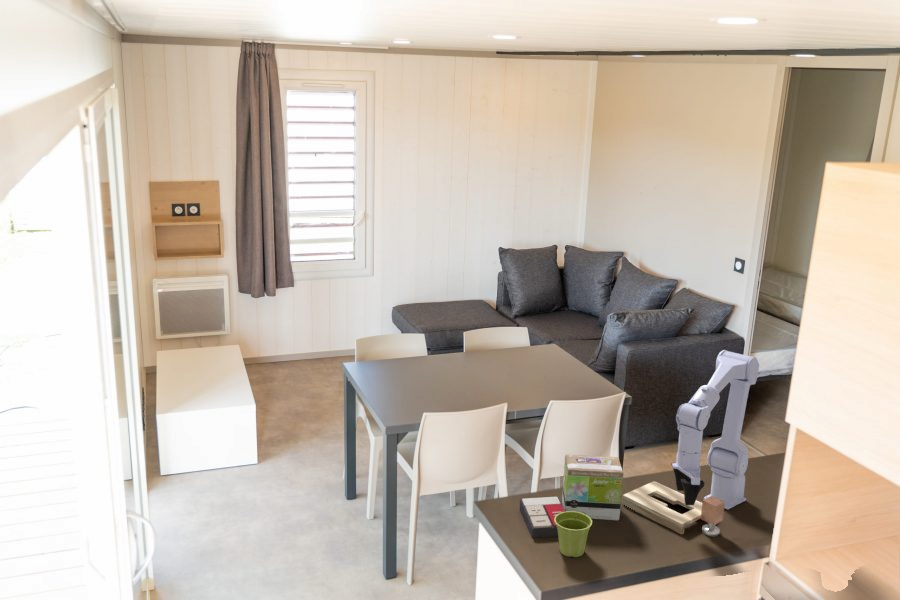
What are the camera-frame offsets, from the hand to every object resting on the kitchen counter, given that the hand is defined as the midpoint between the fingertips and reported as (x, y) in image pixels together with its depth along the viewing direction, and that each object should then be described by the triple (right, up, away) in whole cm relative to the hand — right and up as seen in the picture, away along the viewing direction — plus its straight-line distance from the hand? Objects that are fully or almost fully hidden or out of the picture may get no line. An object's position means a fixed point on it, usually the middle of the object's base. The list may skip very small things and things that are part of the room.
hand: (685, 497), depth 208 cm
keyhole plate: (-1, -7, +13) cm, 15 cm away
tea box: (-23, -7, +13) cm, 27 cm away
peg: (+7, -10, +2) cm, 13 cm away
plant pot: (-31, -12, -7) cm, 34 cm away
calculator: (-36, -9, +7) cm, 37 cm away
